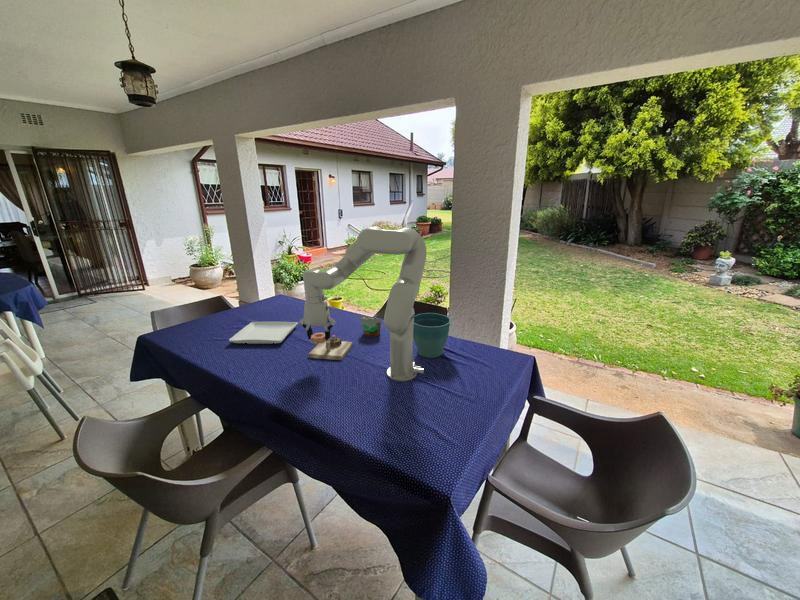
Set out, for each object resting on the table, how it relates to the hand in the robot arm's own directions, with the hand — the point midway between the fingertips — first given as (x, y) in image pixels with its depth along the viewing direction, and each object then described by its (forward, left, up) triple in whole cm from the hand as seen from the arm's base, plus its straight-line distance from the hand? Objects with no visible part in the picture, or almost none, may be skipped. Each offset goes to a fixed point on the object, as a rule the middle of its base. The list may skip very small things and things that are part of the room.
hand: (319, 338), depth 145 cm
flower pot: (-46, -20, -13) cm, 52 cm away
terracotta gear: (0, 0, -1) cm, 1 cm away
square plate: (+43, -27, -14) cm, 52 cm away
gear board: (+1, -14, -13) cm, 19 cm away
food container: (-12, -36, -13) cm, 40 cm away
